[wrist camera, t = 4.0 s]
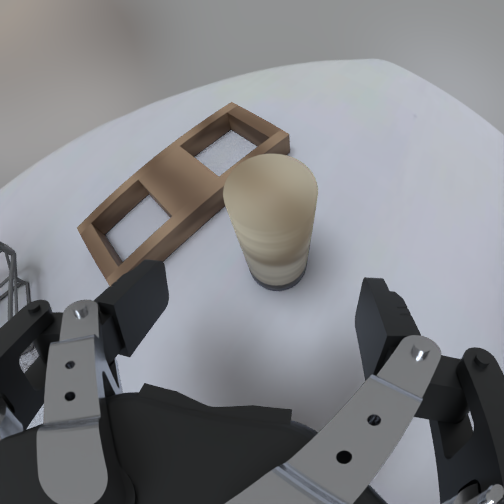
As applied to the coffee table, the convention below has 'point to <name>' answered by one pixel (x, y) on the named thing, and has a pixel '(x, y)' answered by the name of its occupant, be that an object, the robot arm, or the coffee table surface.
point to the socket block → (176, 189)
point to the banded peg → (273, 216)
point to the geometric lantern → (12, 276)
